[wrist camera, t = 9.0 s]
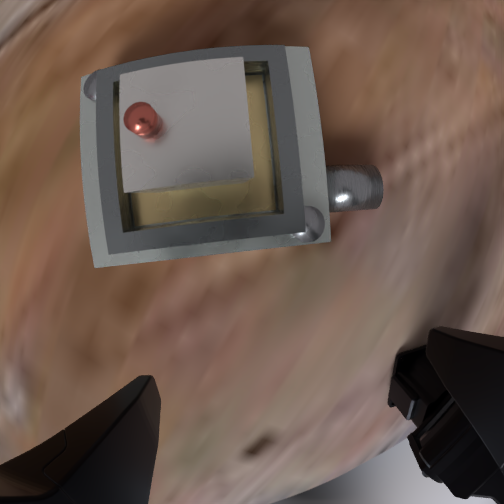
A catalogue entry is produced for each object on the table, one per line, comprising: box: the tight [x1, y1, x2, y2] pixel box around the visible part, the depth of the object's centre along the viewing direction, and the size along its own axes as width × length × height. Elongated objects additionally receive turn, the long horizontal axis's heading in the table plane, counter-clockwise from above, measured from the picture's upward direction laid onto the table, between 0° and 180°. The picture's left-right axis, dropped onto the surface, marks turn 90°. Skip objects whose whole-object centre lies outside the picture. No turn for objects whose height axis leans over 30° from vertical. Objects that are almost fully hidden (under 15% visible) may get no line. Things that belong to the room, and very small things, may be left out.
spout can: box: [119, 57, 254, 193], centre depth 11 cm, size 4×4×7 cm
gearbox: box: [80, 45, 383, 268], centre depth 16 cm, size 18×12×6 cm, turn 95°
